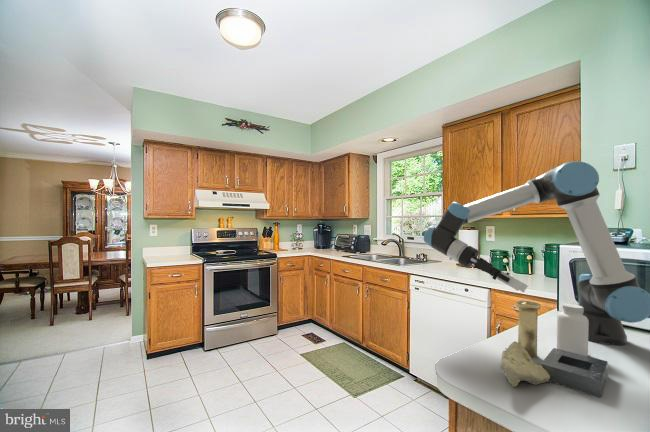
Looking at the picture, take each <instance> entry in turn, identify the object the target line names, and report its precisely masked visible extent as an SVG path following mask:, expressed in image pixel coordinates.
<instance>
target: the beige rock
mask: <svg viewBox="0 0 650 432" xmlns="http://www.w3.org/2000/svg"><path fill="white" fill-rule="evenodd" d="M532 359H533V358H531V357H530V356H529V354H528V352H527V351H526V350H525V349H523V347H522V345H520V344H519V343H518V342H517V341H513V342H512V343H510V344H509V345H508V346H507V347H505V350H503V351H502V354H501V365H500V369H501V370H502V373H503V374H504V375H505V376H506V377H507V380H508V382H509V384H510V385H511V387H513V388H516V387H517V386H518V385H519V383H520V382H521V381H525V382H527V383H529V384H533V385H538V384H542V383H547V382H549V381H548V380H549V379H550V375H549V373H548V372H547V371H546V370H545V369H544V368H543V367H542V366H541V364H540V365H539V364H535V363H534V362H533V360H532Z"/></svg>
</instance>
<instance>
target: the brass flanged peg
mask: <svg viewBox="0 0 650 432" xmlns="http://www.w3.org/2000/svg"><path fill="white" fill-rule="evenodd" d="M515 305H516V306H517V308H518V323H517V324H518V327H517V328H518V330H517V332H518V333H517V334H518V335H517V337H518V338H517V341H518V343H519V344H520V345H522V347H523V349H525V350H526V351H527V352H528V354H529V356H530V357H531V359H534V358H537V357H538V312H539V311H538V310H541V304H540V303H539V302H535V301H530V300H516V301H515Z"/></svg>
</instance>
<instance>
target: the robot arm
mask: <svg viewBox="0 0 650 432" xmlns="http://www.w3.org/2000/svg"><path fill="white" fill-rule="evenodd" d="M599 176H600V175H599V172H598V170H597V169H596V168H595V167H594V166H592V165H591V164H590V163H587V162H584V161H581V160H580V161H578V160H577V161H576V160H575V161H568V162H564V163H562V164H560V165H558V166H556V167H554V168H551V169H549V170H547V171H546V172H545V173H543V174H541V175H539V176H537V177H534V178H530V179H528V180H527V181H525V182H526V183H524V184H522V185H519V186H516V187H513V188H510V189H508V190H504V191H502V192H498V193H495V194H493V195H490V196H487V197H484V198H482V199H478V200H476V201H472V202H470V203H467V204H464V205H463V204H461V203H459V202H456V201H453V202H451V203H450V205H448V207H447V209H446V211H445V212H443V213H442V216H441V220H440V221H439V223H438V224H437V225H436V226H434V225H431V226H430V227H428V229H426V231H425V232H424V234H423V242H424V243H425V244H426V245H428V246H429V247H430V248H432V249H434V250H436V251H437V252H440V253H441V254H443V255H445V256H446V257H447V258H448V259H449V261H452V260H453V261H455V262H458V264H459V265H461V266H463V267H464V268H467V269H468V268H471V267H472V266H473V265H474V268H475V269H476V270H477V269H478V270H479V271H482V272H485V273H487V274H488V275H490V276H491V278H492V280H495V281H496V280H498V281H500V282H502V283H504V284H505V285H506V286H507V285H508V286H509V287H511V289H514V290H516V291H520V292H522V293H525V291H526V290H527V288H528V287H529V285H527V284H526V283H524V282H522V281H520V280H519V279H517V278H515V277H514V276H511V275H510V274H511V273H510V272H503V271H502V270H500V269H499V268H496V267H494V266H493V263H492V264H491V262H489V261H487V260H486V259H484V258H482V257H479V250H478V249H477V248H475V247H473V246H471V245H469V244H467V243H466V242H464V241H463V240H460V239H458V238H456V236H457V234H458V232H459V231H460V229H461V228H462V226H464V225H467V224H469V223H472V222H476V221H479V220H482V219H486V218H489V217H492V216H494V215H498V214H500V213H503V212H506V211H510V210H513V209H516V208H520V207H521V206H526V205H529V204H532V203H535V204H541V203H544V202H547V201H552V200H553V201H556V204H557V206H558V207H559V208H562V209H564V210H565V212H566V214H567V216H568V219H569V221H570V222H569V223H570V224H571V226H572V228H573V231H574V234H575V236H576V238H577V240H578V243H579V245H580V247H581V251H582V253H583V256H584V257H585V260H586V263H587V265H588V267H589V269H590V272H591V273H581V274H580V275H579V276H578V281H577V283H578V305H579V306H582V307H583V308H584V312H583V314H582V315H584V316H586V317H587V319H588V321H589V328H588V341H592V342H595V343H600V344H606V345H617V346H618V345H619V346H621V345H627V344H628V336H627V334H626V331H625V328H624V325H623V323H622V322H624V323H632V324H633V323H640V322H643V321H645V320H646V319H648V318H649V317H650V293H649V292H647V290H645V289H644V288H642V287H641V286H640V284H639V282H638V280H637V278H636V275H635V274H634V273H631V272H629V271H627V270H626V268H625V265H624V263H623V261H622V258H621V256H620V253H619V252H618V251H619V250H618V249H617V247H616V244H615V242H614V240H613V237H612V235H611V233H610V231H609V228H608V225H607V224H606V221H605V218H604V216H603V214H602V212H601V210H600V207H599V204H598V202H597V200H598V199H599V198H600V196H601V195H600V192H599V189H598V187H597V186H598V185H599V182H600V177H599ZM478 257H479V258H478Z"/></svg>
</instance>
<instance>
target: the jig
mask: <svg viewBox="0 0 650 432" xmlns="http://www.w3.org/2000/svg"><path fill="white" fill-rule="evenodd" d="M608 364H609V361H607V360H605V359H600V358H595V357H593V356H592V357H591V356H588V355H587V356H584V355H580V354H576V353H572V352H568V351H564V350H560V349H557V347H556V348H555V347H553V348H552V350H551V351H549V353H548V354H547V355H546V357H545V358H544V359H543V361H542V362H540V366H542V367H543V368H544V369H545V370H546V371H547V372H548V373H549V375H550V379H549V380H548V381H547V382H549V383H552V384H555V385H558V386H562V387H565V388H568V389H571V390H575V391H577V392H581V393H584V394H587V395H590V396H594V397H596V398H600V399H602V396H603V394H604V393H603V392H604V390H605V386H606V383H607V379H608V377H609V376H608V375H609V374H608V373H609V372H608V367H609V366H608ZM607 376H608V377H607Z"/></svg>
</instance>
